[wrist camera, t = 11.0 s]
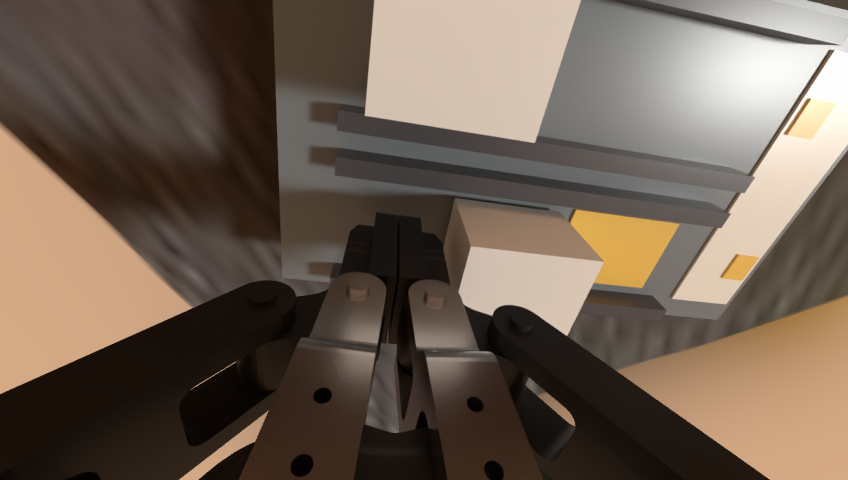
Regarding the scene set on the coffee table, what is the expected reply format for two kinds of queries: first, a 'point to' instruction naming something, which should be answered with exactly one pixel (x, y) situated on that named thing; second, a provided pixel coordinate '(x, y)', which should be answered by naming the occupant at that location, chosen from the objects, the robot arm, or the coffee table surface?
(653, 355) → the coffee table surface
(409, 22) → the switch
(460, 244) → the switch
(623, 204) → the switch panel
